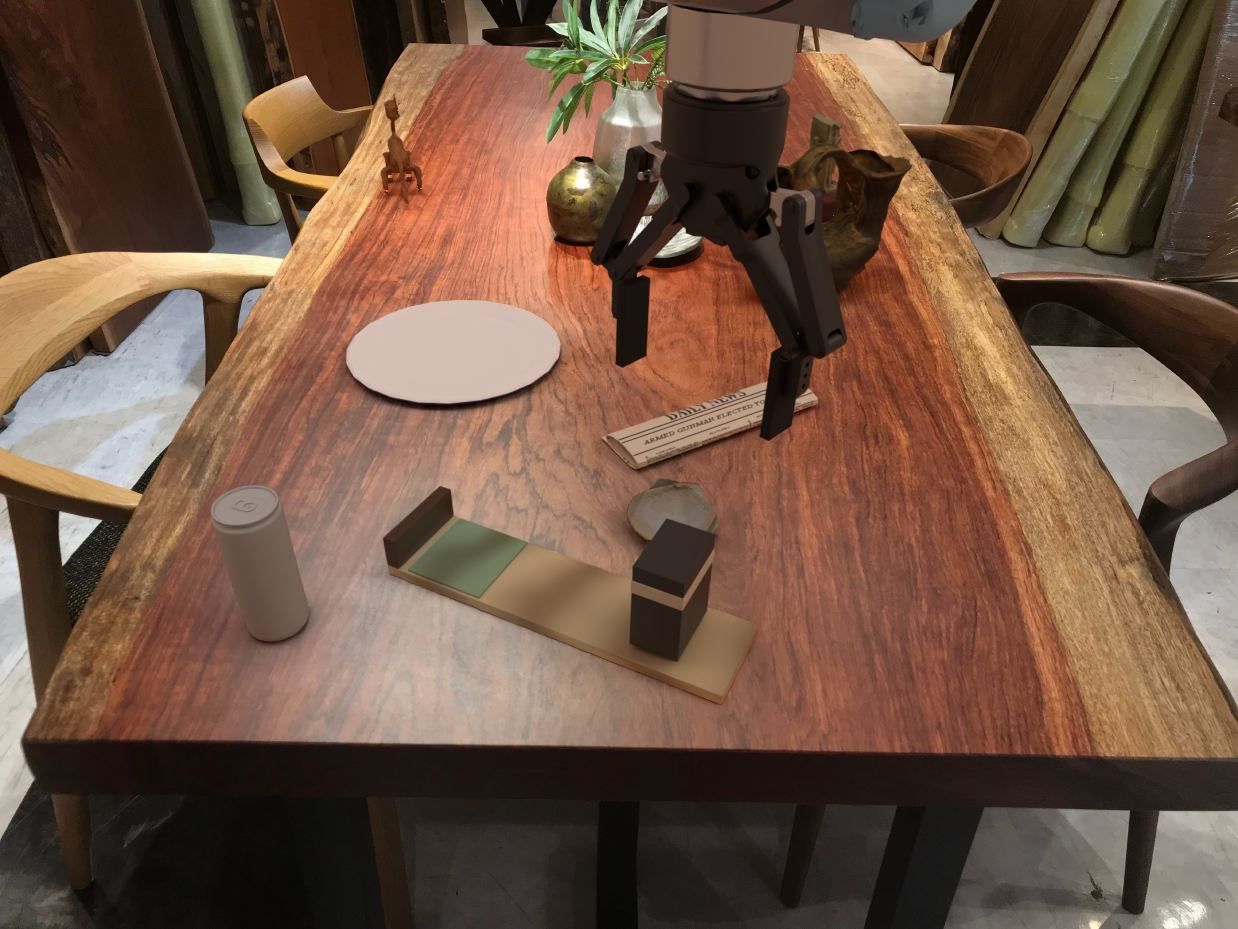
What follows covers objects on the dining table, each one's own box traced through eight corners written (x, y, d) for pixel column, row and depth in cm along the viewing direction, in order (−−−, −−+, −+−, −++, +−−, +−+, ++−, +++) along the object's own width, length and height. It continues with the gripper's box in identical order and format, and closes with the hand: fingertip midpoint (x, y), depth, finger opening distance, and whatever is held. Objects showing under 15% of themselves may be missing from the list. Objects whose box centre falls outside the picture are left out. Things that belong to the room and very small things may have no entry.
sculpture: (856, 216, 146) (873, 121, 137) (818, 225, 142) (833, 128, 133) (817, 197, 152) (831, 106, 144) (779, 205, 149) (791, 112, 140)
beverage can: (286, 652, 68) (251, 532, 61) (233, 636, 69) (193, 517, 62) (322, 609, 72) (294, 492, 65) (271, 595, 73) (238, 478, 66)
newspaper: (637, 473, 88) (638, 458, 87) (600, 438, 92) (600, 424, 91) (817, 408, 98) (819, 394, 97) (775, 379, 103) (776, 366, 102)
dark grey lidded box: (708, 610, 71) (716, 533, 66) (677, 663, 66) (684, 584, 62) (660, 593, 72) (666, 517, 67) (627, 644, 68) (631, 565, 63)
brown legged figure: (428, 209, 144) (419, 122, 136) (387, 213, 142) (375, 124, 134) (417, 174, 158) (408, 92, 150) (379, 176, 156) (368, 94, 148)
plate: (495, 291, 120) (495, 282, 119) (602, 369, 104) (602, 359, 103) (314, 339, 108) (312, 330, 107) (402, 436, 92) (401, 426, 91)
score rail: (757, 633, 71) (763, 596, 69) (721, 705, 65) (726, 668, 63) (444, 520, 81) (440, 485, 79) (388, 573, 75) (382, 537, 73)
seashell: (624, 558, 80) (709, 563, 77) (615, 534, 78) (702, 539, 75) (649, 493, 86) (730, 496, 83) (642, 470, 84) (724, 472, 81)
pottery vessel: (852, 262, 131) (879, 121, 119) (904, 291, 123) (937, 144, 111) (708, 293, 121) (722, 144, 109) (755, 327, 113) (775, 170, 102)
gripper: (954, 116, 48) (877, 443, 60) (618, 41, 61) (612, 320, 74) (881, 144, 43) (814, 491, 56) (537, 56, 57) (545, 350, 69)
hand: (699, 394), depth 65 cm, fingers open, 13 cm apart
